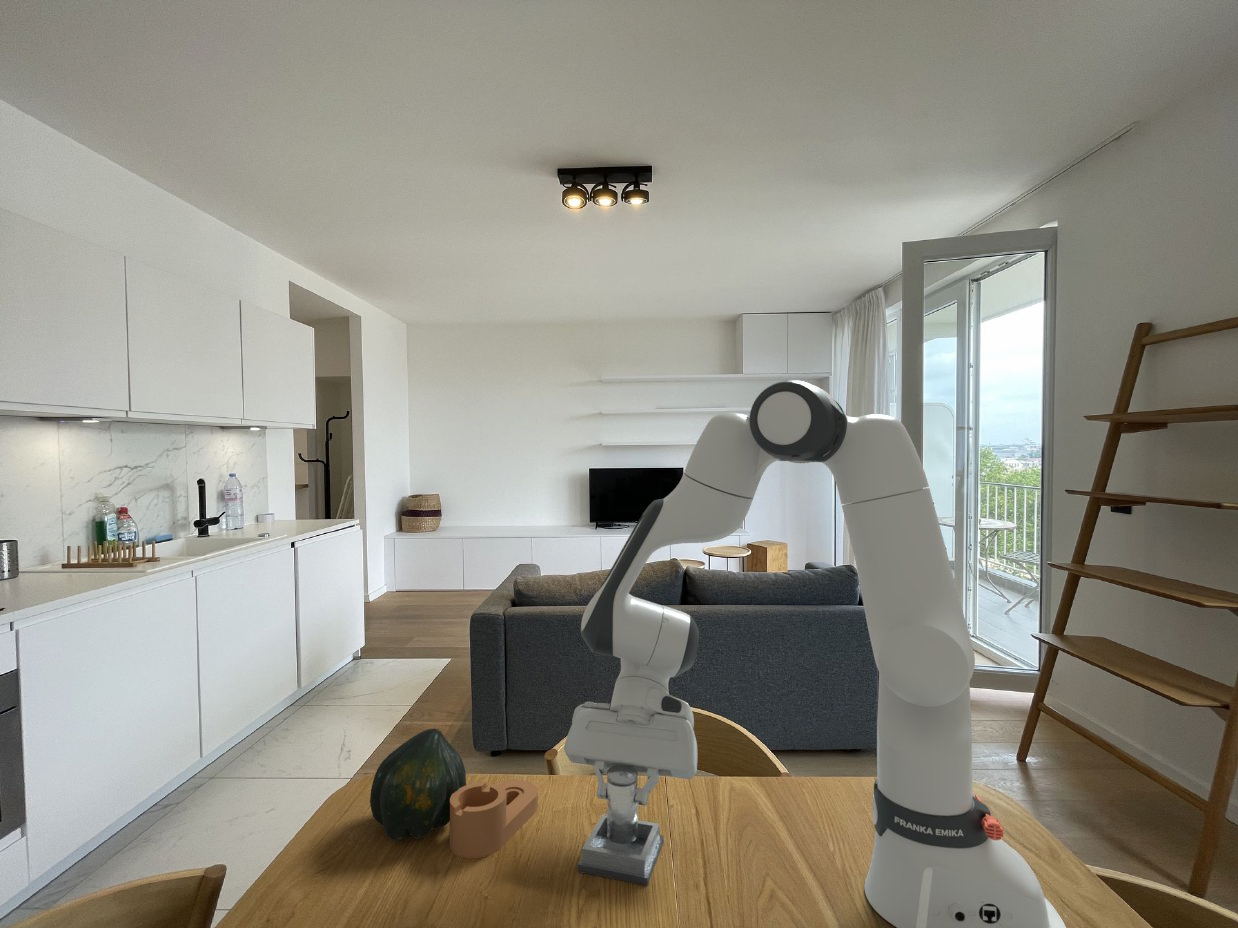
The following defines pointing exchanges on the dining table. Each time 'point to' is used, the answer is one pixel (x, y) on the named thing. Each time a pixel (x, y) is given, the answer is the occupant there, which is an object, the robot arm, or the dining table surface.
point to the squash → (417, 786)
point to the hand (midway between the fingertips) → (621, 800)
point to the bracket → (489, 816)
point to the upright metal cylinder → (622, 804)
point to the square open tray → (622, 853)
